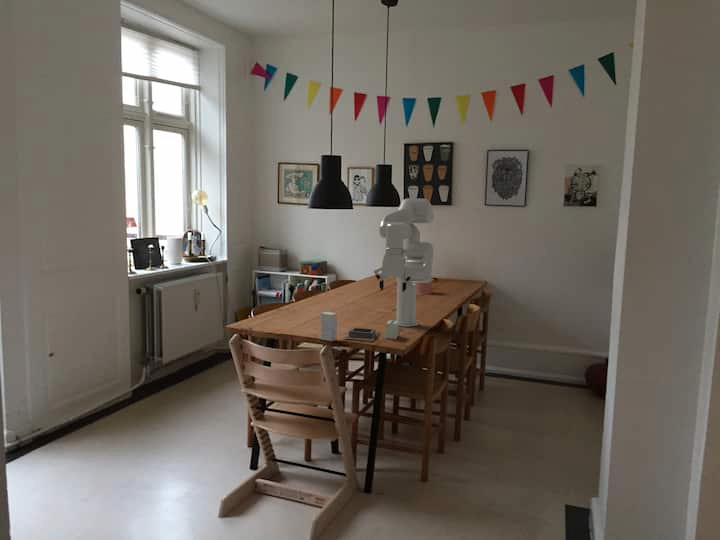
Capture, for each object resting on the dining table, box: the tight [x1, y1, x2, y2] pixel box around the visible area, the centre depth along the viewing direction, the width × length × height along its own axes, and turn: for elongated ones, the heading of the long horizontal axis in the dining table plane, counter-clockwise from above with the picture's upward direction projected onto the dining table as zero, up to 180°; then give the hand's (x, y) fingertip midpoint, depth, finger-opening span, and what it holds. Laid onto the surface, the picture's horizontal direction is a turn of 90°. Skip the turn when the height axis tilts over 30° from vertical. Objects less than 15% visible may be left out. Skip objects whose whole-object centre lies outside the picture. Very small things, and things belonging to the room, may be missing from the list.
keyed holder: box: [343, 326, 381, 343], centre depth 261 cm, size 16×13×3 cm
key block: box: [385, 319, 399, 340], centre depth 261 cm, size 7×4×7 cm, turn 167°
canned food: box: [414, 274, 433, 295], centre depth 381 cm, size 11×11×12 cm
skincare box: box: [320, 311, 338, 342], centre depth 253 cm, size 6×4×12 cm
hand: (392, 290), depth 252 cm, fingers open, 9 cm apart
